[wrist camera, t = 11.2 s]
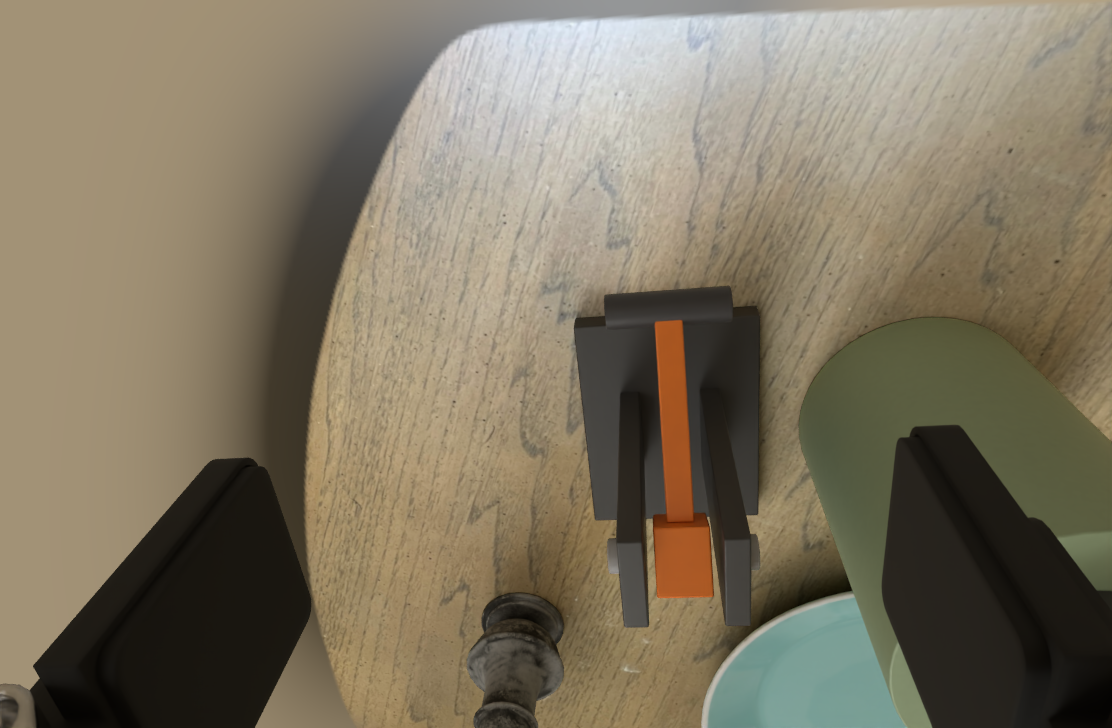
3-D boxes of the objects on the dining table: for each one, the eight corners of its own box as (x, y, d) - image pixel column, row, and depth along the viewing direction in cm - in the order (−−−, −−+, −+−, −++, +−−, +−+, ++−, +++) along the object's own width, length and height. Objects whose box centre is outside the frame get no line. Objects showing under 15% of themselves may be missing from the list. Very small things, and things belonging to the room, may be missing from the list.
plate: (1143, 680, 46) (1173, 721, 44) (865, 837, 55) (876, 878, 53) (885, 487, 41) (902, 520, 39) (628, 694, 51) (628, 731, 48)
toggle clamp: (575, 317, 38) (551, 461, 27) (756, 305, 37) (811, 450, 26) (595, 507, 44) (583, 694, 32) (755, 502, 43) (800, 693, 31)
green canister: (802, 324, 38) (923, 573, 22) (1094, 306, 36) (1450, 561, 20) (795, 512, 43) (889, 821, 27) (1050, 503, 41) (1306, 828, 25)
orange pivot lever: (606, 296, 32) (602, 293, 30) (727, 287, 31) (733, 283, 29) (623, 580, 32) (621, 599, 30) (743, 577, 32) (750, 596, 29)
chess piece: (497, 576, 47) (458, 753, 36) (583, 610, 48) (570, 794, 37) (463, 636, 50) (418, 817, 39) (545, 668, 50) (522, 855, 40)
